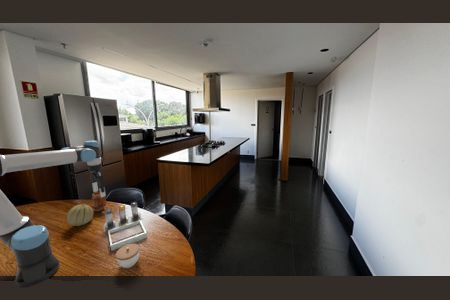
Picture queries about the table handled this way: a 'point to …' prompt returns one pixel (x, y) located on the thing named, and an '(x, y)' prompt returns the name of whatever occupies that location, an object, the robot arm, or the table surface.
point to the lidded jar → (128, 255)
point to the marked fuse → (122, 213)
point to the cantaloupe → (80, 215)
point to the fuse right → (134, 210)
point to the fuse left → (109, 217)
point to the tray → (129, 239)
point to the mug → (98, 201)
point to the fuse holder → (118, 224)
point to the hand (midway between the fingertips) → (99, 193)
